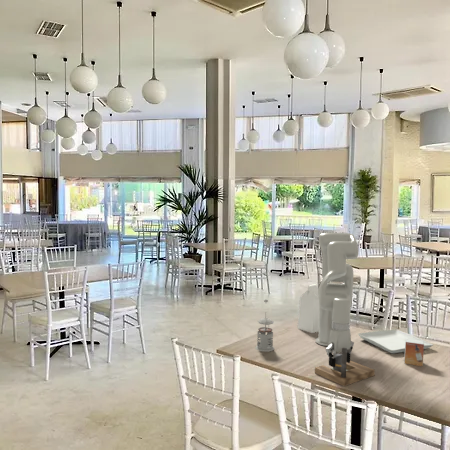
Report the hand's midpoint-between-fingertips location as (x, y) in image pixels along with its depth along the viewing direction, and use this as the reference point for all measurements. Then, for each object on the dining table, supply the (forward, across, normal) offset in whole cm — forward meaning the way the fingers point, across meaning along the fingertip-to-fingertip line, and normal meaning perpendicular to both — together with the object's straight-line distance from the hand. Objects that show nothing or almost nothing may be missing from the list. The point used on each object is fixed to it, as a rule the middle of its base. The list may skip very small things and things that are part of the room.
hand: (339, 364), depth 196 cm
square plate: (+4, -54, -9) cm, 55 cm away
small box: (+4, -38, +12) cm, 40 cm away
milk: (+4, -37, -52) cm, 64 cm away
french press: (+4, +7, -42) cm, 43 cm away
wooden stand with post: (+4, 0, +3) cm, 5 cm away
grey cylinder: (+3, 0, 0) cm, 3 cm away
